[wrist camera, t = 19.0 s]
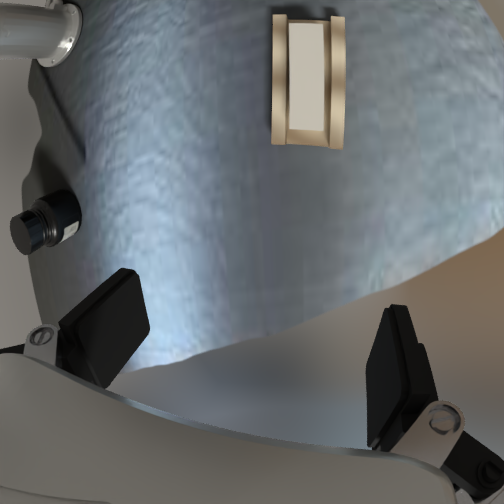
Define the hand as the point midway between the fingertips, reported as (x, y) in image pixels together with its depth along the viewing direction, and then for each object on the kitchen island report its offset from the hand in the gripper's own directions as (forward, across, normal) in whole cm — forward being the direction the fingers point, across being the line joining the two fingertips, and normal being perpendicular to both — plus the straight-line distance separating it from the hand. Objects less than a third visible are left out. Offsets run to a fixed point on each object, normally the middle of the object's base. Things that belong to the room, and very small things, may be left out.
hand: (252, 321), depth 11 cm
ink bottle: (+28, +42, +7) cm, 51 cm away
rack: (+28, 0, -12) cm, 31 cm away
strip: (+28, 0, -12) cm, 30 cm away
